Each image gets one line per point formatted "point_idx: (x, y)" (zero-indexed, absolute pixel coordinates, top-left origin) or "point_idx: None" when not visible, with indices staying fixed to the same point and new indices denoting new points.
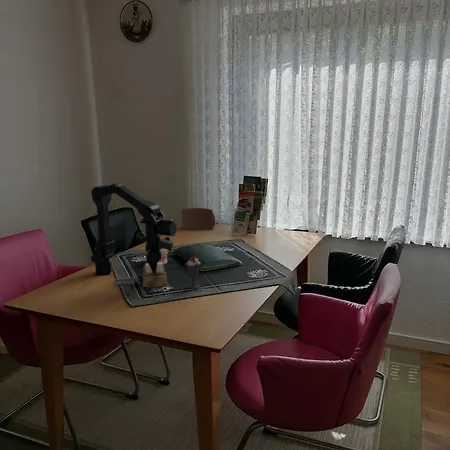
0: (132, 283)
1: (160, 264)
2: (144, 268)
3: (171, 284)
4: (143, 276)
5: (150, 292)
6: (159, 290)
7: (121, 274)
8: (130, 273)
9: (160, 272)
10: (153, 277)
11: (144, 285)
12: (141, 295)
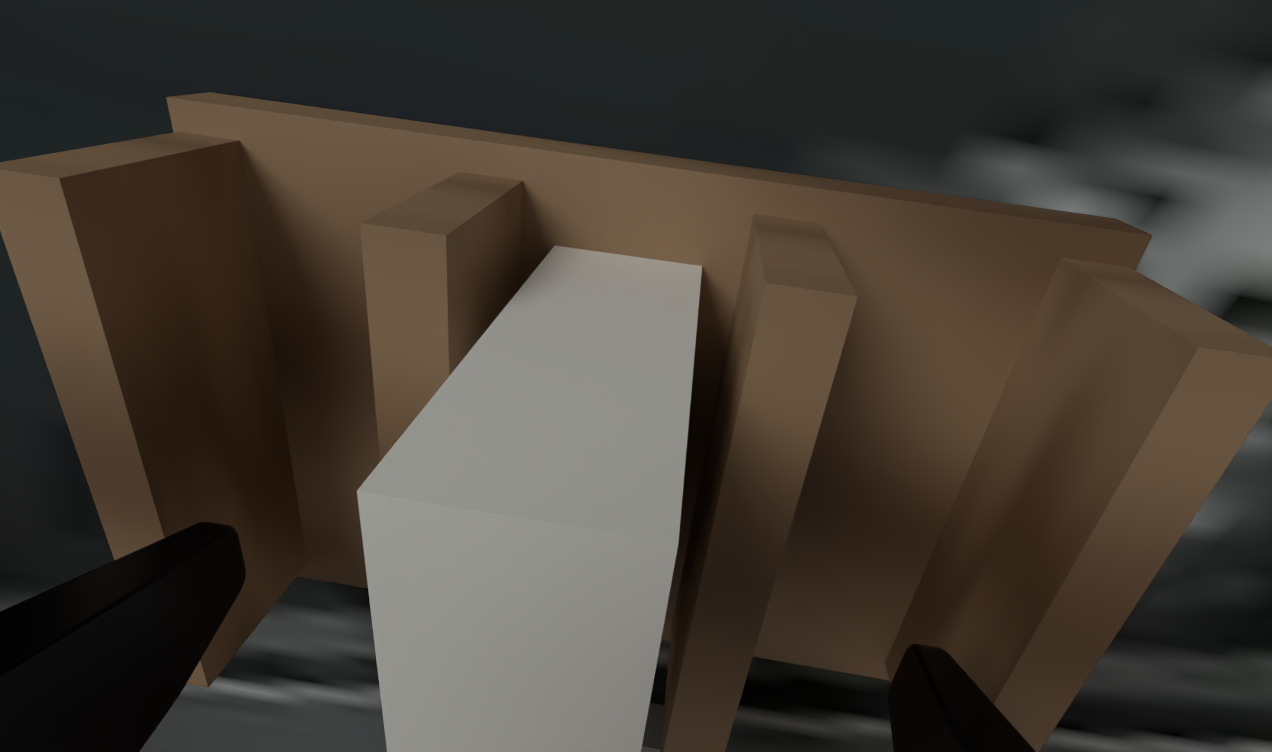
0: None
1: (660, 611)
2: (227, 640)
3: (1076, 92)
4: None
5: (1230, 599)
6: (1263, 443)
7: (223, 749)
8: None
9: (772, 440)
10: (1082, 673)
11: None
12: (1250, 727)
